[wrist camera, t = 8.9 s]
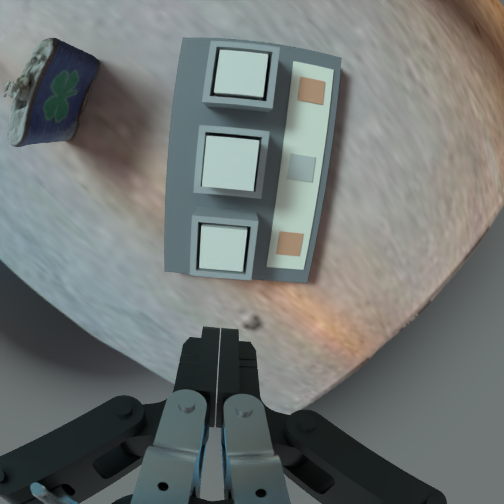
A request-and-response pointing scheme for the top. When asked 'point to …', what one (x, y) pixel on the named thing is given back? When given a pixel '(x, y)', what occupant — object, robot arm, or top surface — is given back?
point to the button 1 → (222, 246)
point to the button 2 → (241, 75)
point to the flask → (50, 94)
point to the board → (268, 161)
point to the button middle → (230, 163)
